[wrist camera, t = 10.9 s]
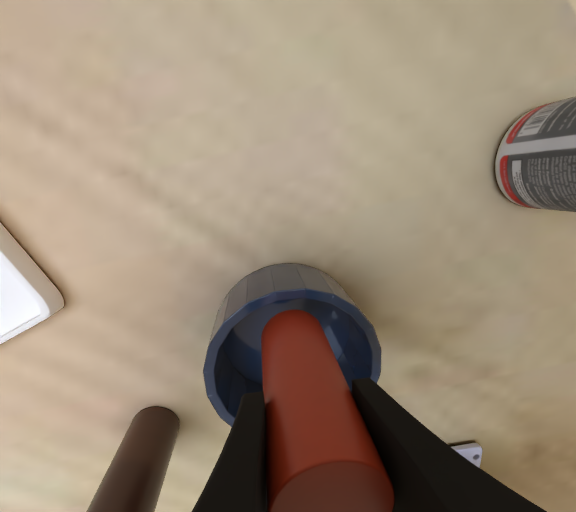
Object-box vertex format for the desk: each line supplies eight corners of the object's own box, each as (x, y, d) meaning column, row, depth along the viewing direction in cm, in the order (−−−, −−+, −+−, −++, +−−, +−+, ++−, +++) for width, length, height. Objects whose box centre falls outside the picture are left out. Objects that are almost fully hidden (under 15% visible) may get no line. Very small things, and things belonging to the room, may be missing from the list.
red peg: (323, 360, 14) (393, 545, 7) (263, 368, 14) (272, 567, 7) (322, 305, 13) (398, 450, 6) (258, 312, 13) (262, 471, 6)
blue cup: (353, 379, 20) (379, 431, 16) (224, 396, 19) (216, 455, 15) (354, 256, 17) (384, 280, 13) (206, 270, 17) (190, 299, 12)
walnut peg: (183, 440, 19) (141, 593, 12) (136, 446, 19) (66, 608, 12) (175, 403, 19) (126, 545, 11) (127, 409, 18) (45, 559, 11)
